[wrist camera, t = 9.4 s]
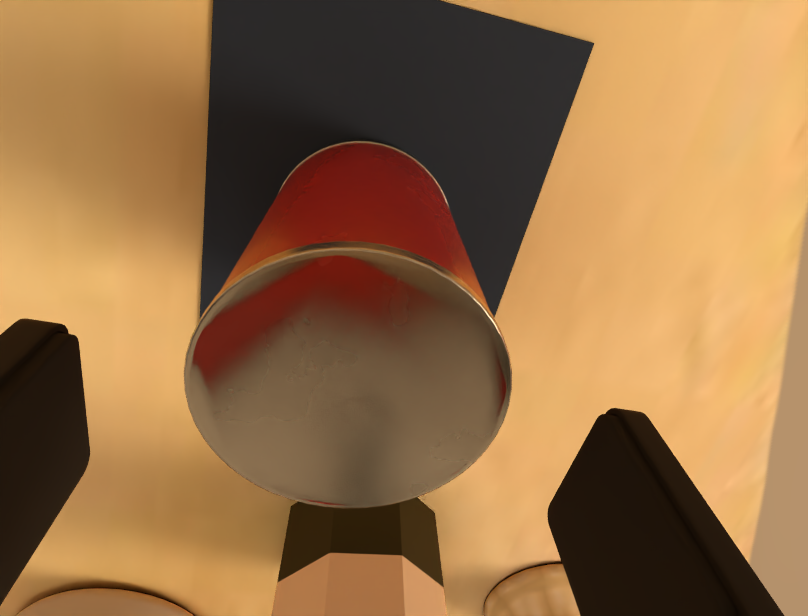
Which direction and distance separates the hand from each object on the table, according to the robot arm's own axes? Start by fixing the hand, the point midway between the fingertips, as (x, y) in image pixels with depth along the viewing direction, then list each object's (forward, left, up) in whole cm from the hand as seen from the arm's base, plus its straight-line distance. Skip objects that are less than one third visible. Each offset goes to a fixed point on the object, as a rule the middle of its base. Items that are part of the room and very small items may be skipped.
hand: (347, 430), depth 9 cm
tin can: (0, 0, -11) cm, 11 cm away
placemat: (0, 0, -11) cm, 11 cm away
